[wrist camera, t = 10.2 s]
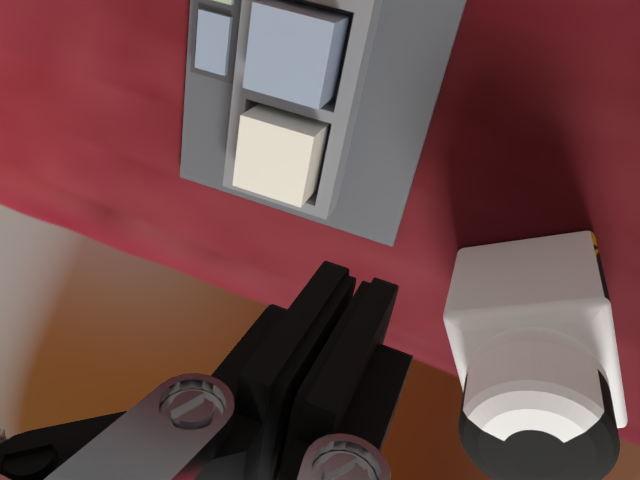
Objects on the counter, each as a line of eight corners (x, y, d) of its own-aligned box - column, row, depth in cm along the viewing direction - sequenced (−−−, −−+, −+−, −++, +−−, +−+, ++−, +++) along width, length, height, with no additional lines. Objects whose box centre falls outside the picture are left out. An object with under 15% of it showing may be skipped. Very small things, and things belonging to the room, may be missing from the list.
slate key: (349, 16, 27) (334, 23, 25) (333, 97, 29) (318, 109, 27) (273, -3, 28) (252, 1, 25) (262, 77, 30) (242, 87, 28)
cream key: (329, 123, 30) (314, 137, 28) (315, 190, 32) (300, 207, 30) (260, 103, 30) (240, 114, 28) (251, 169, 32) (232, 185, 30)
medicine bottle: (610, 339, 32) (648, 524, 22) (482, 347, 35) (463, 514, 25) (593, 227, 29) (628, 377, 19) (456, 246, 32) (424, 385, 22)
